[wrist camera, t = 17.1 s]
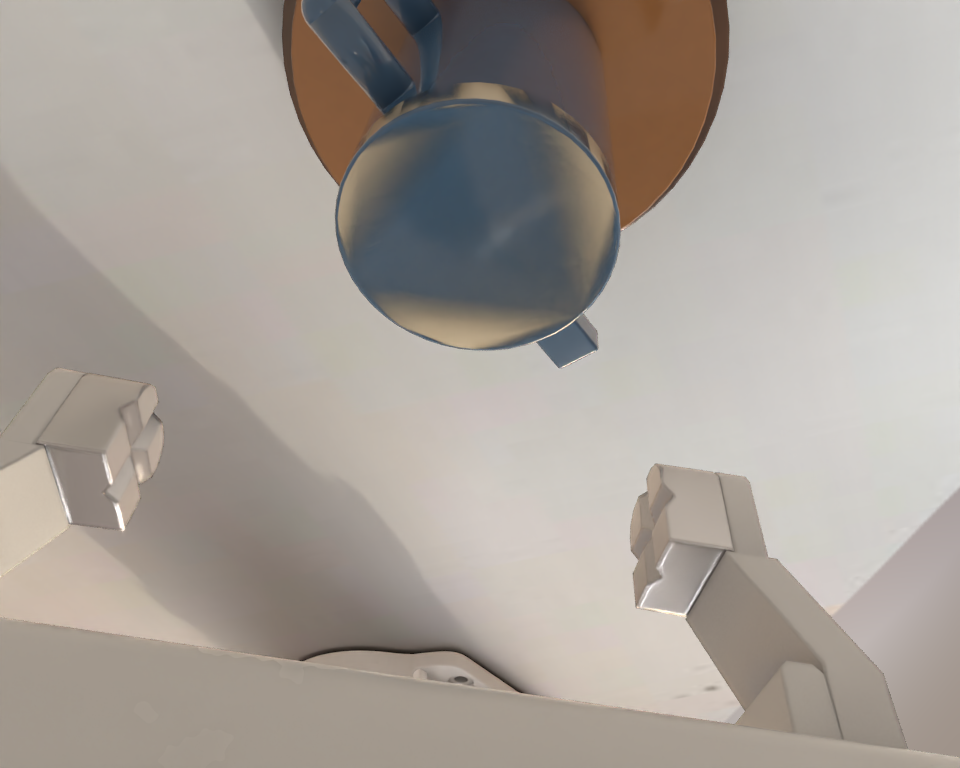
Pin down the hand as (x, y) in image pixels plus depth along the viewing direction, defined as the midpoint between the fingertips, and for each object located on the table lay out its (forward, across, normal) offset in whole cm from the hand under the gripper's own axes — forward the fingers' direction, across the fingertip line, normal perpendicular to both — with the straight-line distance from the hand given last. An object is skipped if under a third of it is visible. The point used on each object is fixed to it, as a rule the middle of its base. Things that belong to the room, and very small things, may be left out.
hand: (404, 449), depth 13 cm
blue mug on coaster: (+16, -1, 0) cm, 16 cm away
